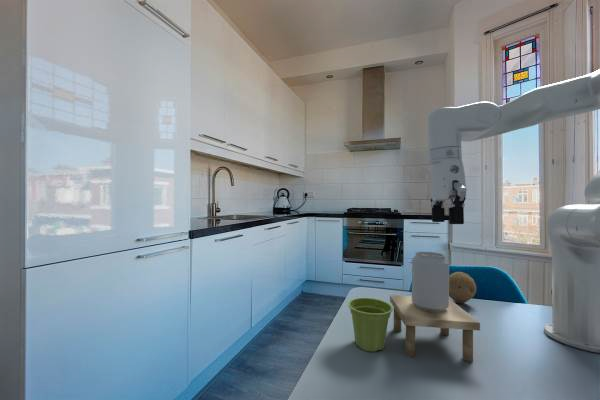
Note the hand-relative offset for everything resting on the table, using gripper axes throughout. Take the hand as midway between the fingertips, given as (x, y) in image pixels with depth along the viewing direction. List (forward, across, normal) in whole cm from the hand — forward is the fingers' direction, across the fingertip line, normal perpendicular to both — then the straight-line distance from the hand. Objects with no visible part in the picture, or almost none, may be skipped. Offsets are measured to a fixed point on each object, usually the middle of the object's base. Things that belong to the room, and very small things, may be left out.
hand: (446, 222), depth 69 cm
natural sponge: (+27, +18, -11) cm, 34 cm away
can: (+18, -9, +8) cm, 22 cm away
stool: (+26, -9, +9) cm, 29 cm away
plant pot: (+26, -11, +22) cm, 36 cm away
